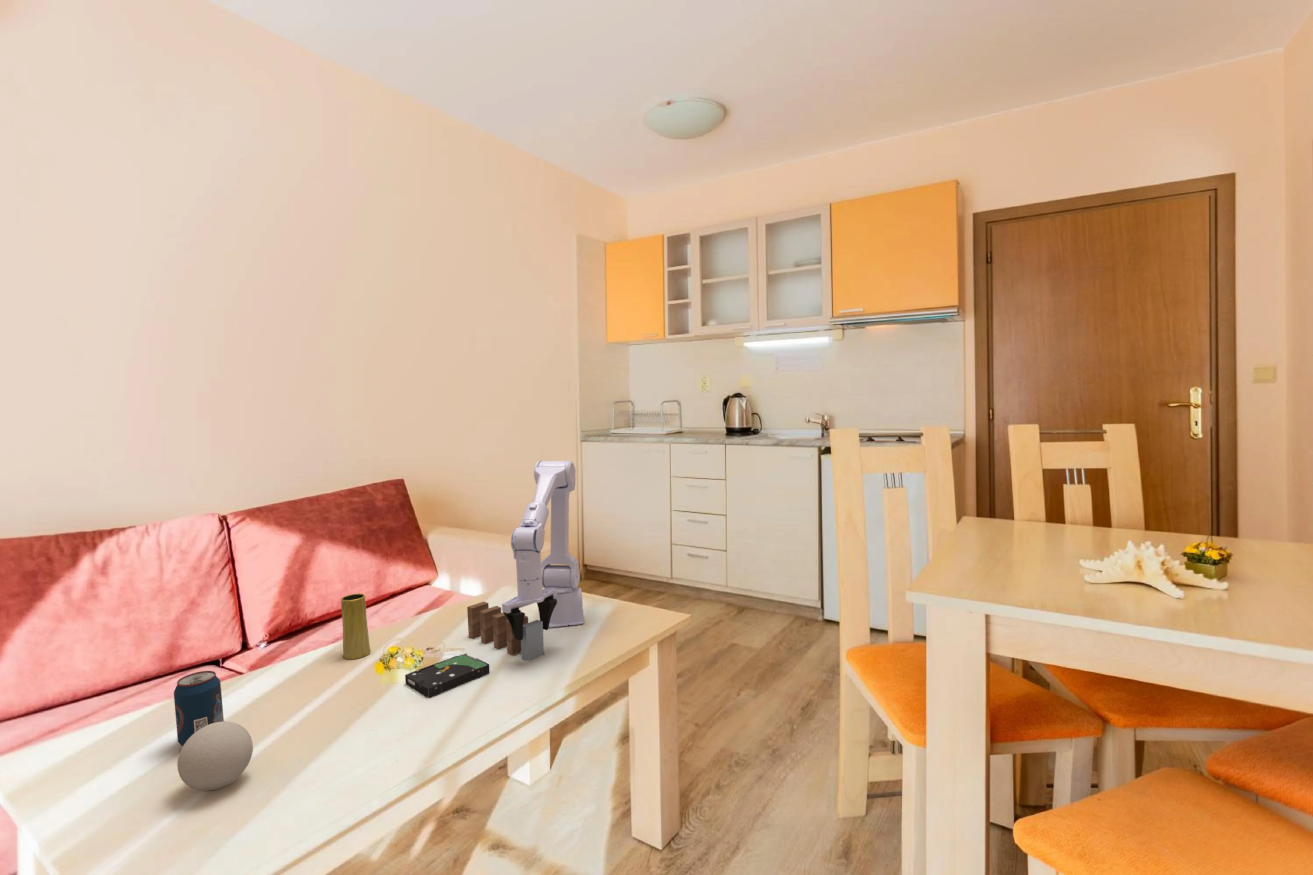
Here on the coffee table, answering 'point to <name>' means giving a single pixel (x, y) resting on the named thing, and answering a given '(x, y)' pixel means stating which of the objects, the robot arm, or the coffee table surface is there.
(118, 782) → the coffee table surface
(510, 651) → the domino
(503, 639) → the brown wooden block
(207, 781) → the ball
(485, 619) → the domino
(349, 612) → the vase
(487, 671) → the disk drive
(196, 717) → the soda can
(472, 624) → the pushed domino
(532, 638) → the domino
